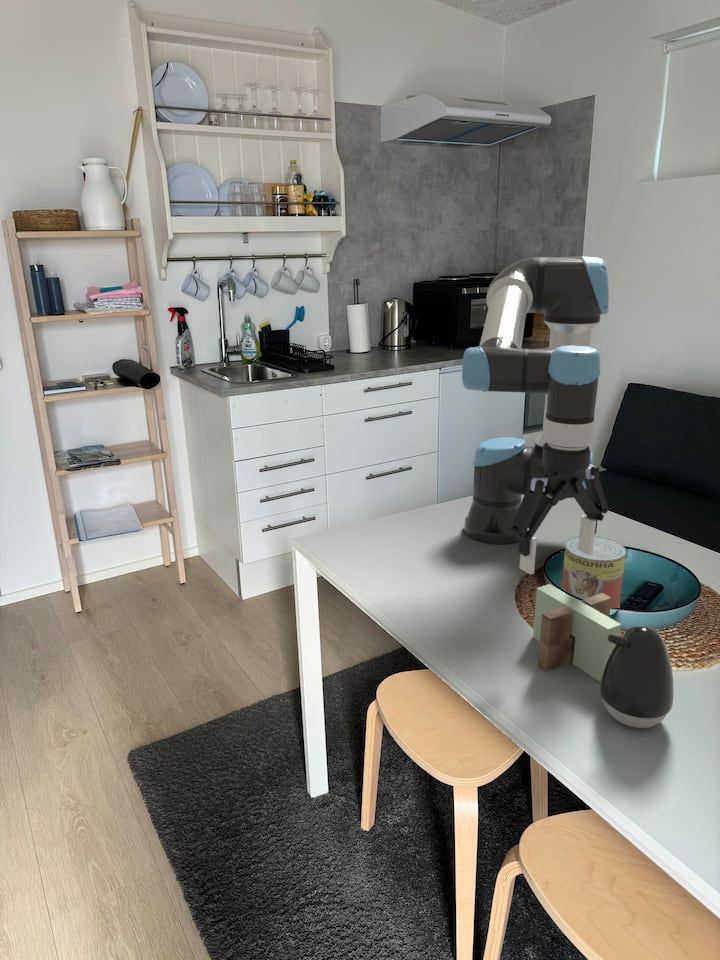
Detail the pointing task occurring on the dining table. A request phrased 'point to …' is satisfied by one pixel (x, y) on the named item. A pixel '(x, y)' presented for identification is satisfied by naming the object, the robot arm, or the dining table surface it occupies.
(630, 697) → the pump dispenser
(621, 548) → the canned food
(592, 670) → the green arch bridge
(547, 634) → the brown u-shaped block
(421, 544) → the dining table surface
